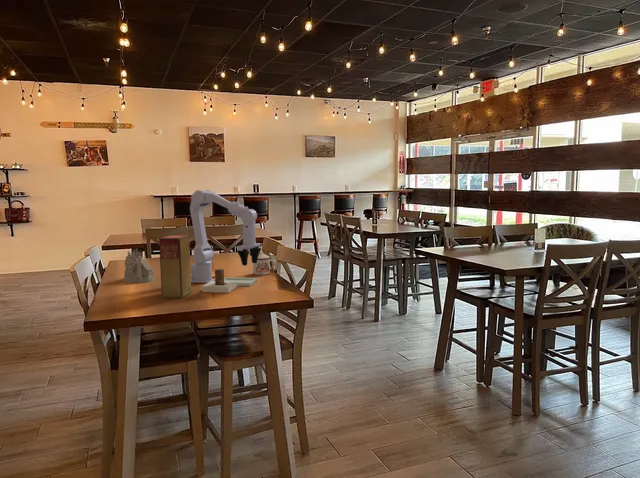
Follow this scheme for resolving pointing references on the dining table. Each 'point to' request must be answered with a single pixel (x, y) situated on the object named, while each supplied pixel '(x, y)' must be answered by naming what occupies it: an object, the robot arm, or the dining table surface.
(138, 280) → the grey castle model
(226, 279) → the sage tray
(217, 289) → the holder block
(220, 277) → the walnut pin
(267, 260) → the teacup with lid
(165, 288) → the food packaging
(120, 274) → the dining table surface
